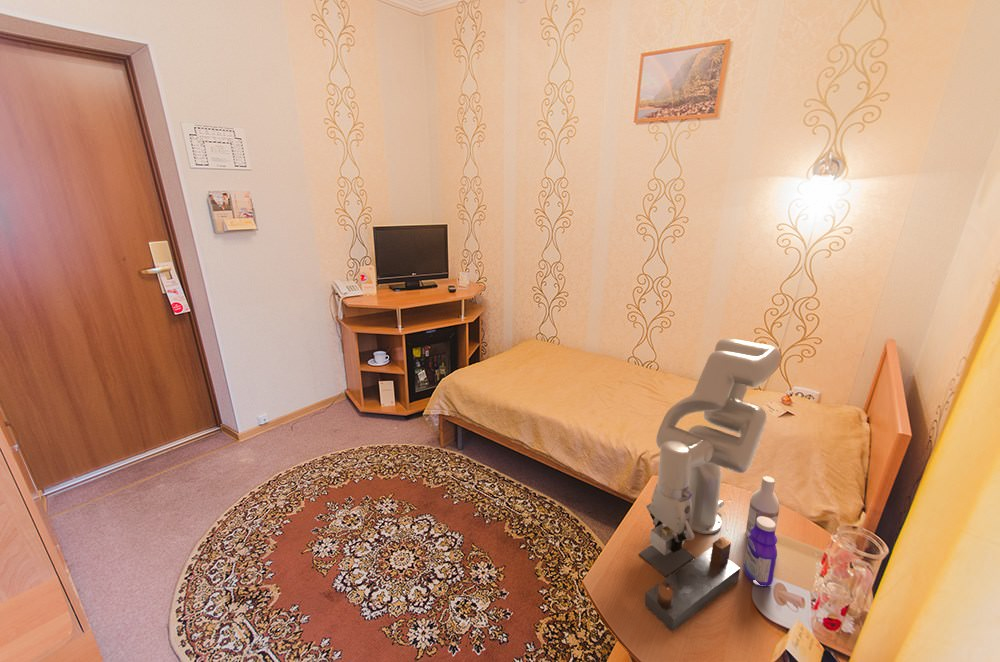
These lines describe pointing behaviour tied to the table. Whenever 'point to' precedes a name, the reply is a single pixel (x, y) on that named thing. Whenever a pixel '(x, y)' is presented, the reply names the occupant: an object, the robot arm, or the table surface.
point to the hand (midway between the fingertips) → (667, 542)
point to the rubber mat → (666, 559)
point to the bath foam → (763, 504)
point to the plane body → (693, 586)
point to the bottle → (761, 552)
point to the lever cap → (662, 538)
